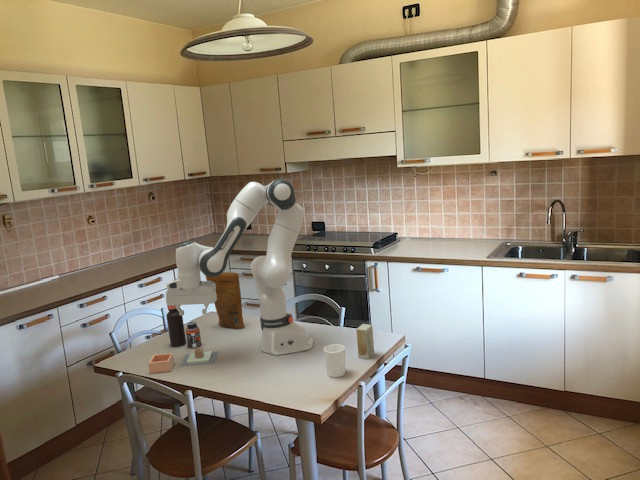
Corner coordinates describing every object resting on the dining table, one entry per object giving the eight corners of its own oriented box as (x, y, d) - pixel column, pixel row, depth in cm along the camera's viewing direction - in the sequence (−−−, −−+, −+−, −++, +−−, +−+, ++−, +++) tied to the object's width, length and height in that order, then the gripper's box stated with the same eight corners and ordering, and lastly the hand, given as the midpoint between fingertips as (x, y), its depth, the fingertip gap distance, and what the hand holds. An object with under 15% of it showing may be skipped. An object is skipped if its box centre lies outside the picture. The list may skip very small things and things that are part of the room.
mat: (219, 352, 224) (218, 351, 224) (214, 364, 212) (214, 363, 212) (186, 355, 223) (185, 354, 223) (180, 367, 212) (179, 366, 212)
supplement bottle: (198, 349, 229) (194, 325, 227) (185, 349, 230) (182, 325, 228) (203, 344, 235) (200, 320, 232) (191, 344, 236) (188, 320, 234)
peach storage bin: (174, 364, 216) (173, 353, 215) (170, 373, 208) (168, 361, 207) (155, 366, 215) (153, 355, 214) (150, 374, 207) (148, 363, 206)
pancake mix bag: (241, 331, 247) (234, 274, 241) (210, 327, 256) (203, 271, 251) (250, 326, 252) (243, 270, 247) (220, 322, 262) (213, 268, 257)
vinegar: (187, 346, 234) (181, 303, 231) (172, 349, 232) (166, 306, 228) (184, 341, 240) (178, 299, 237) (169, 344, 238) (163, 302, 234)
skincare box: (365, 351, 212) (362, 323, 209) (374, 353, 210) (372, 324, 207) (357, 358, 206) (355, 328, 204) (367, 359, 204) (365, 330, 202)
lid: (212, 353, 222) (211, 344, 221) (209, 362, 213) (207, 353, 213) (191, 355, 222) (190, 346, 221) (186, 364, 213) (185, 355, 212)
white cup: (334, 367, 200) (332, 342, 198) (351, 371, 195) (349, 346, 193) (321, 375, 194) (319, 350, 192) (338, 380, 189) (336, 354, 187)
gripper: (216, 278, 215) (220, 310, 217) (167, 280, 215) (171, 313, 218) (213, 282, 208) (216, 315, 211) (162, 285, 209) (166, 318, 212)
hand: (193, 314), depth 214 cm, fingers open, 8 cm apart
